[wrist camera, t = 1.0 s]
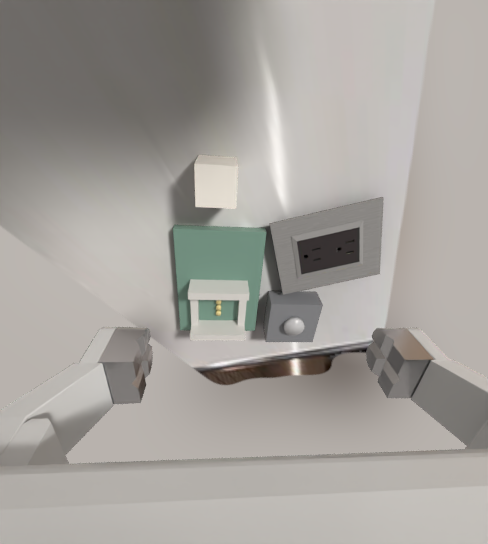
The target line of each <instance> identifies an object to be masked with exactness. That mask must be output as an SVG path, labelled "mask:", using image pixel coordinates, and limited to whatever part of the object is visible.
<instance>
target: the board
mask: <svg viewBox="0 0 488 544" xmlns="http://www.w3.org/2000/svg"><path fill="white" fill-rule="evenodd" d="M266 233H267V232H266V229H265V228H244V227H218V226H192V225H174V227H173V236H174V249H175V263H176V277H177V290H178V304H179V318H180V330H191V331H190V341H245V331H255V325H256V316H257V308H258V300H259V291H260V283H261V275H262V266H263V258H264V250H265V241H266Z"/></svg>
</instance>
